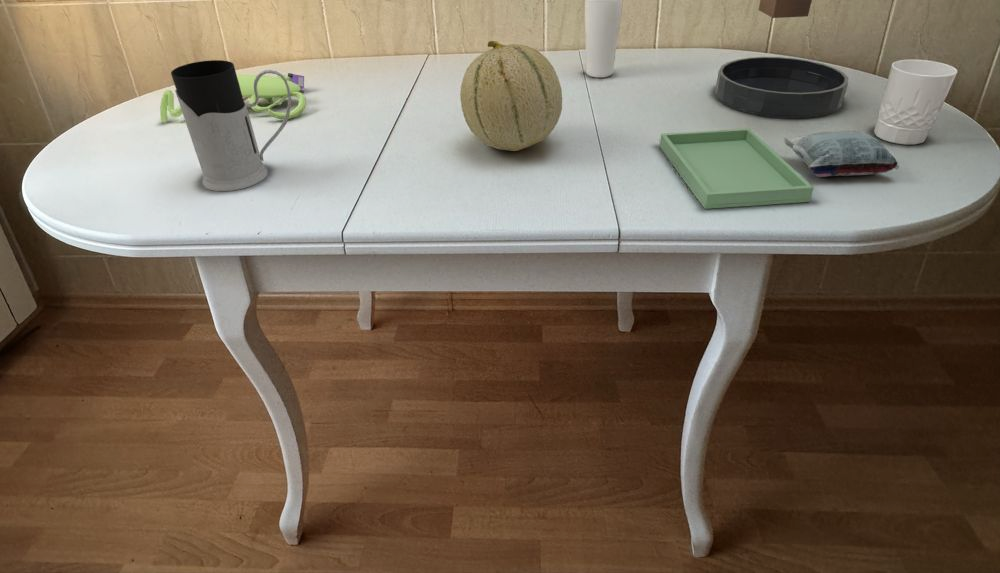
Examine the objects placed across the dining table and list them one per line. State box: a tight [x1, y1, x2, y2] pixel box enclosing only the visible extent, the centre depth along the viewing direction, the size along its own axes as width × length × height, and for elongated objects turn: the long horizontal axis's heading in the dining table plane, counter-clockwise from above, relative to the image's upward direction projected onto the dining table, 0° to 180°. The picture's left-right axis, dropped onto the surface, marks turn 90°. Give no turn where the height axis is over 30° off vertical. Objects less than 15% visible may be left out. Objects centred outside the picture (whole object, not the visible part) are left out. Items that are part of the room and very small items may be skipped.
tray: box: [659, 127, 815, 210], centre depth 83 cm, size 19×13×2 cm
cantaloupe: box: [459, 40, 563, 152], centre depth 89 cm, size 15×15×15 cm
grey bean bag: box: [783, 130, 900, 178], centre depth 82 cm, size 9×12×5 cm
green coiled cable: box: [159, 72, 307, 123], centre depth 111 cm, size 18×27×6 cm
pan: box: [714, 56, 849, 120], centre depth 106 cm, size 20×20×4 cm
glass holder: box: [170, 59, 292, 192], centre depth 84 cm, size 9×14×15 cm, turn 111°
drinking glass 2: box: [584, 0, 624, 79], centre depth 116 cm, size 7×7×15 cm
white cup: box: [873, 58, 958, 146], centre depth 89 cm, size 8×8×10 cm
